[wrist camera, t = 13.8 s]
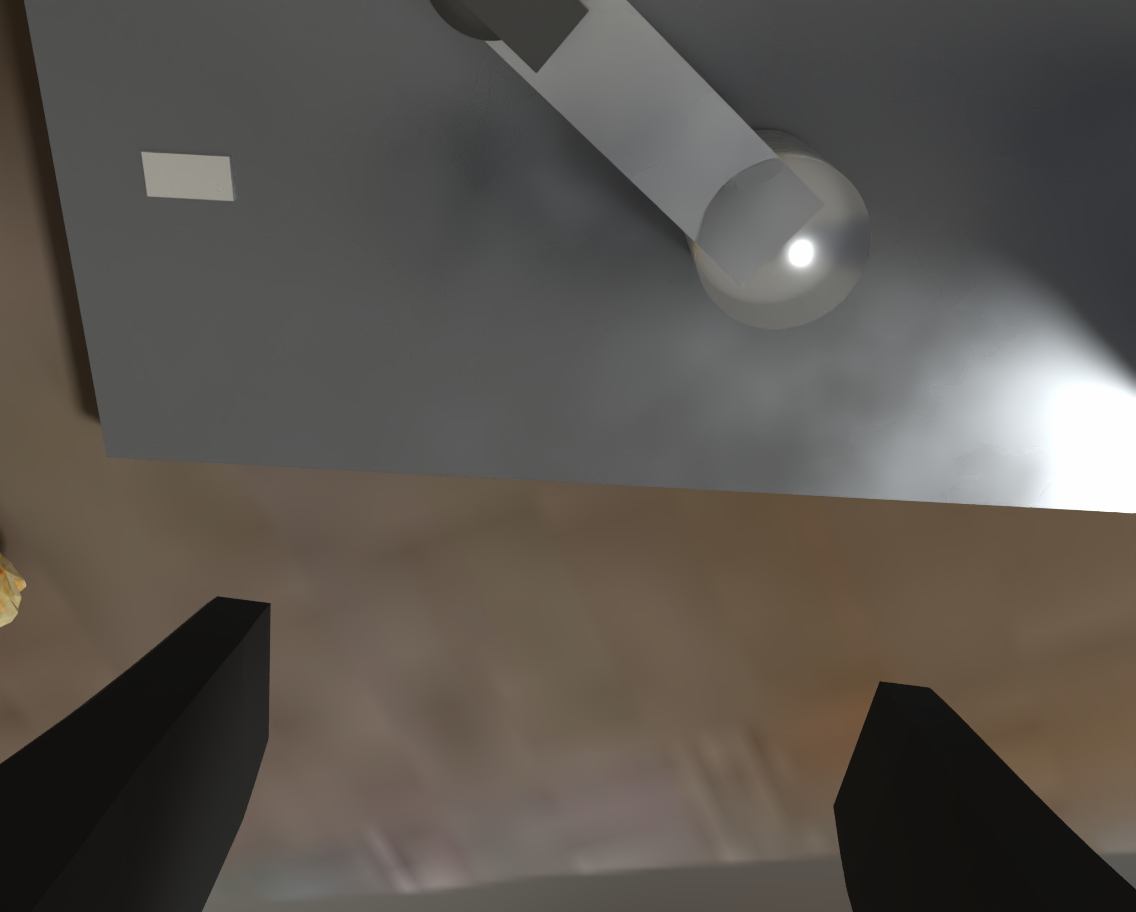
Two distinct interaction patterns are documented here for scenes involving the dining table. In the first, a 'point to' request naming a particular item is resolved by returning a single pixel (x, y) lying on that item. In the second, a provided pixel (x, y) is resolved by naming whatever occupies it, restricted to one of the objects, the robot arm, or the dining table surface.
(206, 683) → the robot arm
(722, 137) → the crank
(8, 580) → the croissant
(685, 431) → the crank plate
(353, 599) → the dining table surface
